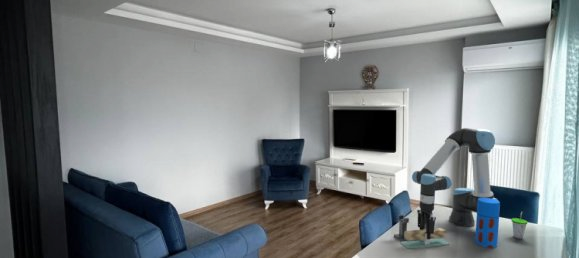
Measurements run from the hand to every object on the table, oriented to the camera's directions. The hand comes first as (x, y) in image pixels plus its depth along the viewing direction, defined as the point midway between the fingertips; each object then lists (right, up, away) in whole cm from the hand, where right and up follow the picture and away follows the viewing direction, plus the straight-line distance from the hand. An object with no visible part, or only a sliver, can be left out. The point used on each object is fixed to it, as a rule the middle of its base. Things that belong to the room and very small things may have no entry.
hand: (424, 242), depth 180 cm
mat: (0, -1, 0) cm, 1 cm away
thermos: (+36, -1, +2) cm, 36 cm away
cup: (+60, -1, +11) cm, 61 cm away
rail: (0, +3, 0) cm, 3 cm away
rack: (-2, 0, +9) cm, 10 cm away
